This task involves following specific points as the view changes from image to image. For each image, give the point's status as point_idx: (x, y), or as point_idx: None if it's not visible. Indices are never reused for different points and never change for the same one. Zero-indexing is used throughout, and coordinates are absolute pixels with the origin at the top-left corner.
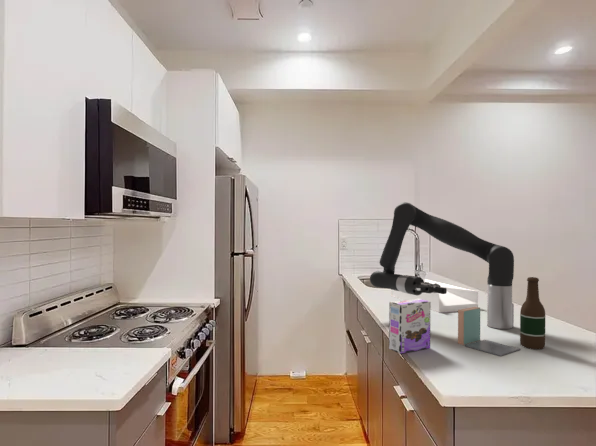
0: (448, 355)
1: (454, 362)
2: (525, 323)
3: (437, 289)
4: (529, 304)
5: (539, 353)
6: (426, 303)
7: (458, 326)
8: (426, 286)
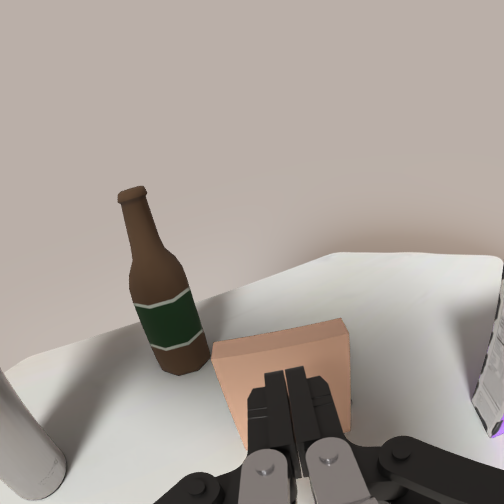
0: (446, 353)
1: (452, 322)
2: (194, 305)
3: (337, 418)
4: (171, 256)
5: (228, 332)
6: None
7: (350, 388)
8: (446, 467)
